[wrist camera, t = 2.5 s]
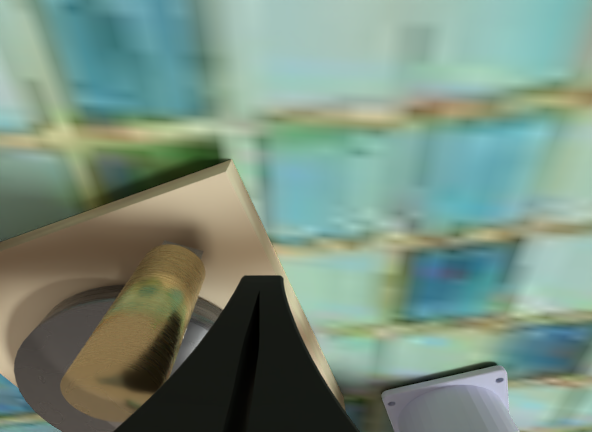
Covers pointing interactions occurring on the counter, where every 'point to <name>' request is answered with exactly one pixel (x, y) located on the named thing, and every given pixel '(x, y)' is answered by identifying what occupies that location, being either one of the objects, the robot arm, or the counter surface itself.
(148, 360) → the metal pan with handle
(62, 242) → the stand
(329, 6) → the counter surface
